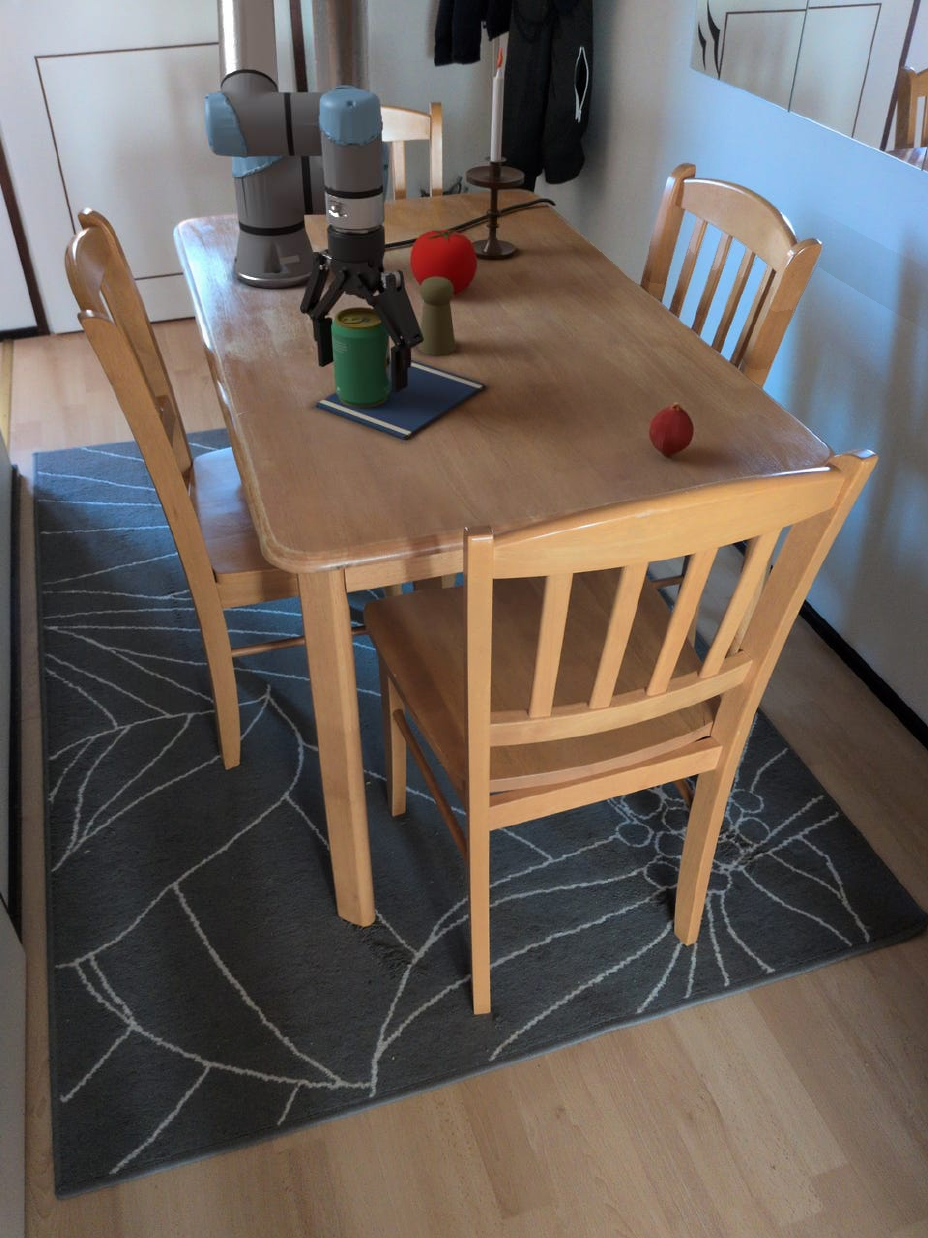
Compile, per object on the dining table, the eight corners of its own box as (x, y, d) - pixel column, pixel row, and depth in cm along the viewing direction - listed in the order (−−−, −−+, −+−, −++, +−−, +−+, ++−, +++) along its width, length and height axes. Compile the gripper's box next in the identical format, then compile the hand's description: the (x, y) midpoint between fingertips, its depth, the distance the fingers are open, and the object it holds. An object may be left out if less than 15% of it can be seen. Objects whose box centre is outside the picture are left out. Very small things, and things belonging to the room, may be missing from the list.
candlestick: (485, 238, 200) (492, 39, 177) (530, 250, 195) (543, 47, 173) (453, 253, 193) (456, 48, 171) (499, 265, 188) (508, 56, 166)
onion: (641, 445, 137) (649, 391, 132) (682, 444, 137) (692, 391, 132) (651, 467, 132) (659, 412, 127) (693, 466, 133) (703, 412, 128)
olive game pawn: (451, 357, 157) (452, 288, 150) (413, 352, 158) (413, 284, 151) (458, 341, 162) (460, 274, 155) (422, 337, 162) (422, 270, 155)
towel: (400, 358, 156) (400, 355, 156) (484, 387, 149) (485, 383, 149) (315, 406, 143) (315, 403, 143) (404, 440, 136) (404, 436, 136)
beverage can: (394, 406, 143) (392, 326, 135) (339, 411, 141) (334, 330, 134) (386, 381, 149) (384, 303, 141) (333, 385, 147) (327, 307, 140)
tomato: (487, 297, 176) (489, 237, 169) (427, 307, 172) (427, 246, 165) (457, 274, 184) (459, 216, 178) (400, 283, 180) (399, 224, 173)
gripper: (265, 212, 132) (280, 361, 146) (414, 253, 122) (416, 410, 135) (303, 198, 137) (314, 344, 151) (450, 236, 127) (448, 390, 140)
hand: (362, 376), depth 143 cm, fingers open, 13 cm apart
